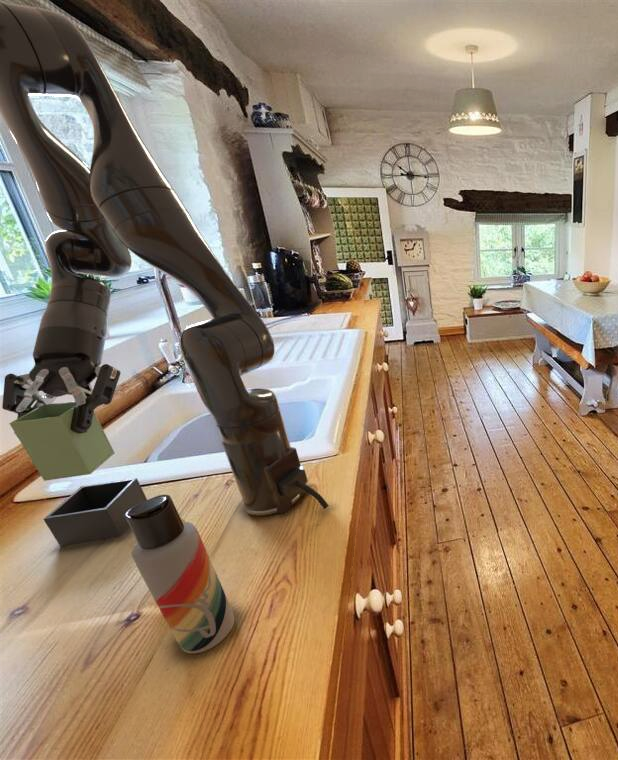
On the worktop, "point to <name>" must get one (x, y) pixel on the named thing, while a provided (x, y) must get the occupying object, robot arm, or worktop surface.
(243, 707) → the worktop surface
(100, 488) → the charcoal bin
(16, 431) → the green bin
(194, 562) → the lotion bottle
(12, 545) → the worktop surface
